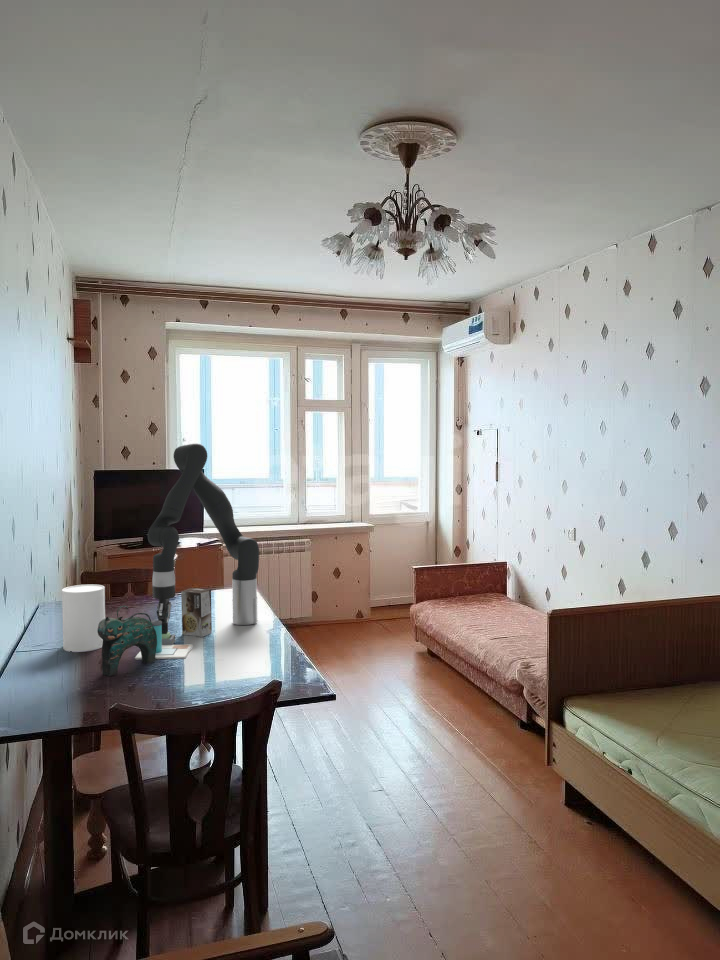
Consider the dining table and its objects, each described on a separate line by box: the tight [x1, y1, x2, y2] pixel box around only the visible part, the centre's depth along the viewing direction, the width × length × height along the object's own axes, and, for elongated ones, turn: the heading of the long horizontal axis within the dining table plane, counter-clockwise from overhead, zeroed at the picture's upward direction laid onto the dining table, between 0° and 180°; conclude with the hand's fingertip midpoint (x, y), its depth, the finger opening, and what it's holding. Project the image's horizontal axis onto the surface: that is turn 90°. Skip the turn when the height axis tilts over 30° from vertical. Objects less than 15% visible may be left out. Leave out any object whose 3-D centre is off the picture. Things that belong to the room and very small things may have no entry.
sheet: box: [134, 643, 194, 661], centre depth 235 cm, size 16×14×1 cm
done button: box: [162, 631, 171, 639], centre depth 245 cm, size 4×4×3 cm
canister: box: [61, 583, 106, 653], centre depth 242 cm, size 14×14×20 cm
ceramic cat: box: [98, 605, 157, 677], centre depth 218 cm, size 20×6×20 cm, turn 146°
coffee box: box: [180, 587, 213, 638], centre depth 258 cm, size 9×6×16 cm
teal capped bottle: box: [151, 619, 162, 653], centre depth 233 cm, size 4×4×10 cm
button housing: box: [162, 634, 176, 645], centre depth 245 cm, size 6×6×2 cm
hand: (164, 633), depth 245 cm, fingers closed
